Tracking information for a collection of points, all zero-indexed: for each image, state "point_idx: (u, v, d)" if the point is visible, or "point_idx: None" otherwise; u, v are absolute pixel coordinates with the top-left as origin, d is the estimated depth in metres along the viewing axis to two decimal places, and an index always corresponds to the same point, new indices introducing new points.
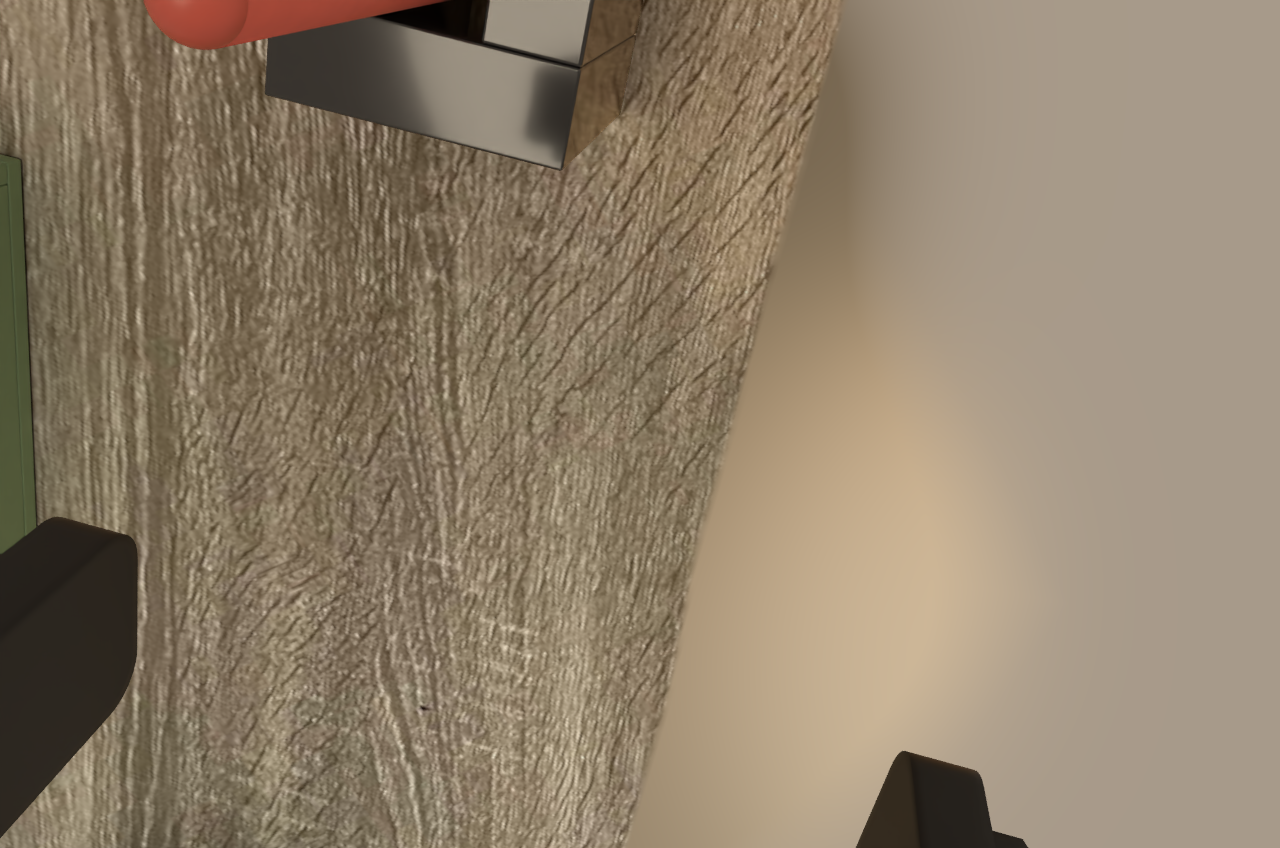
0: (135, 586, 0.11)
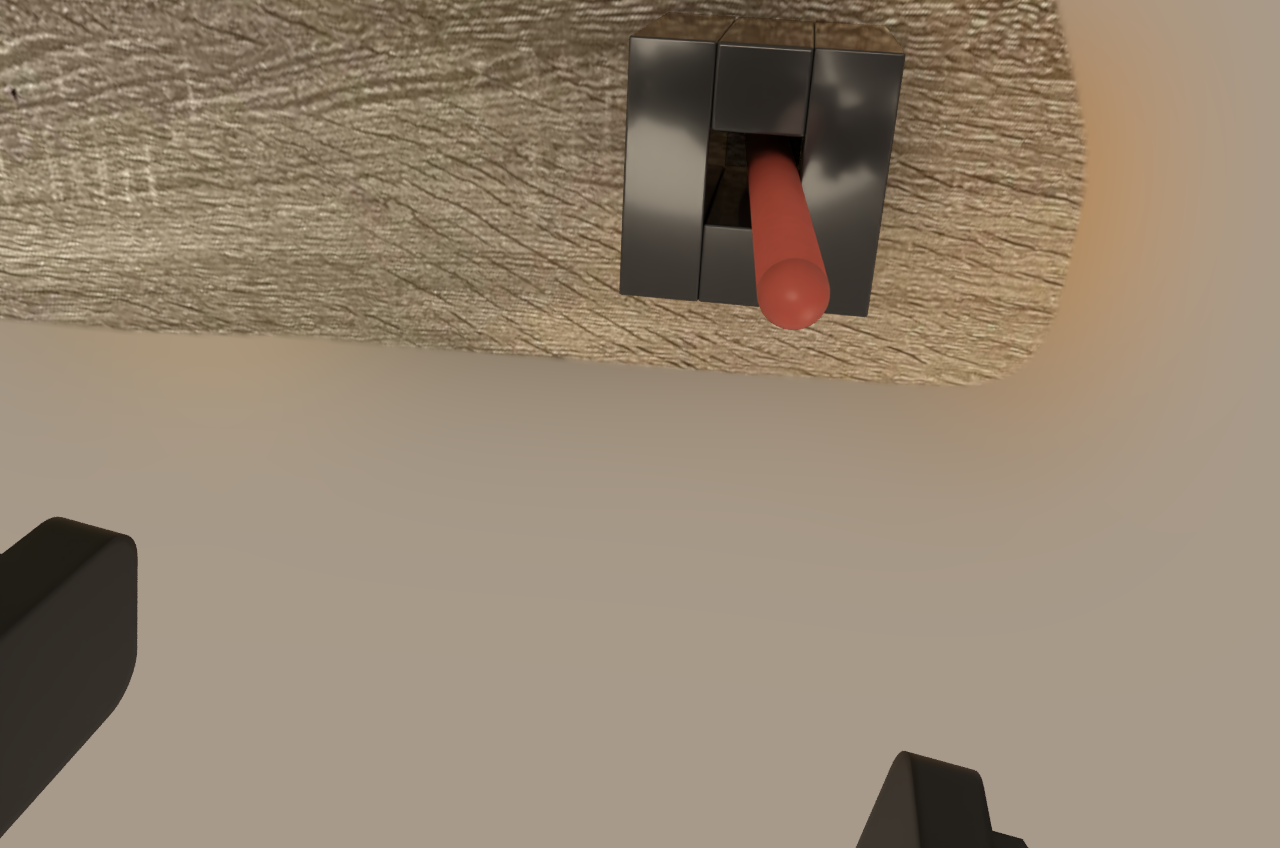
0: (135, 586, 0.11)
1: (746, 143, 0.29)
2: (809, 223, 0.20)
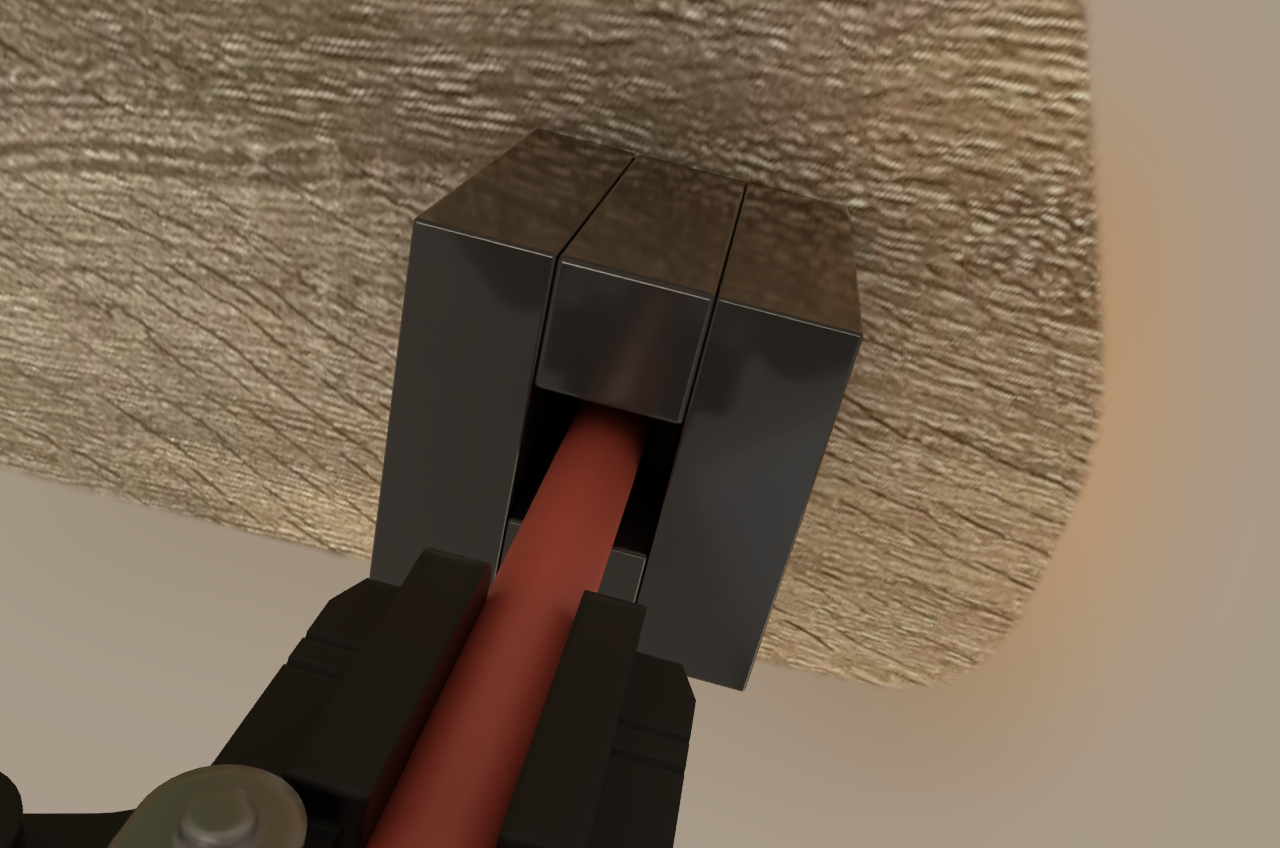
0: None
1: None
2: (540, 696, 0.10)
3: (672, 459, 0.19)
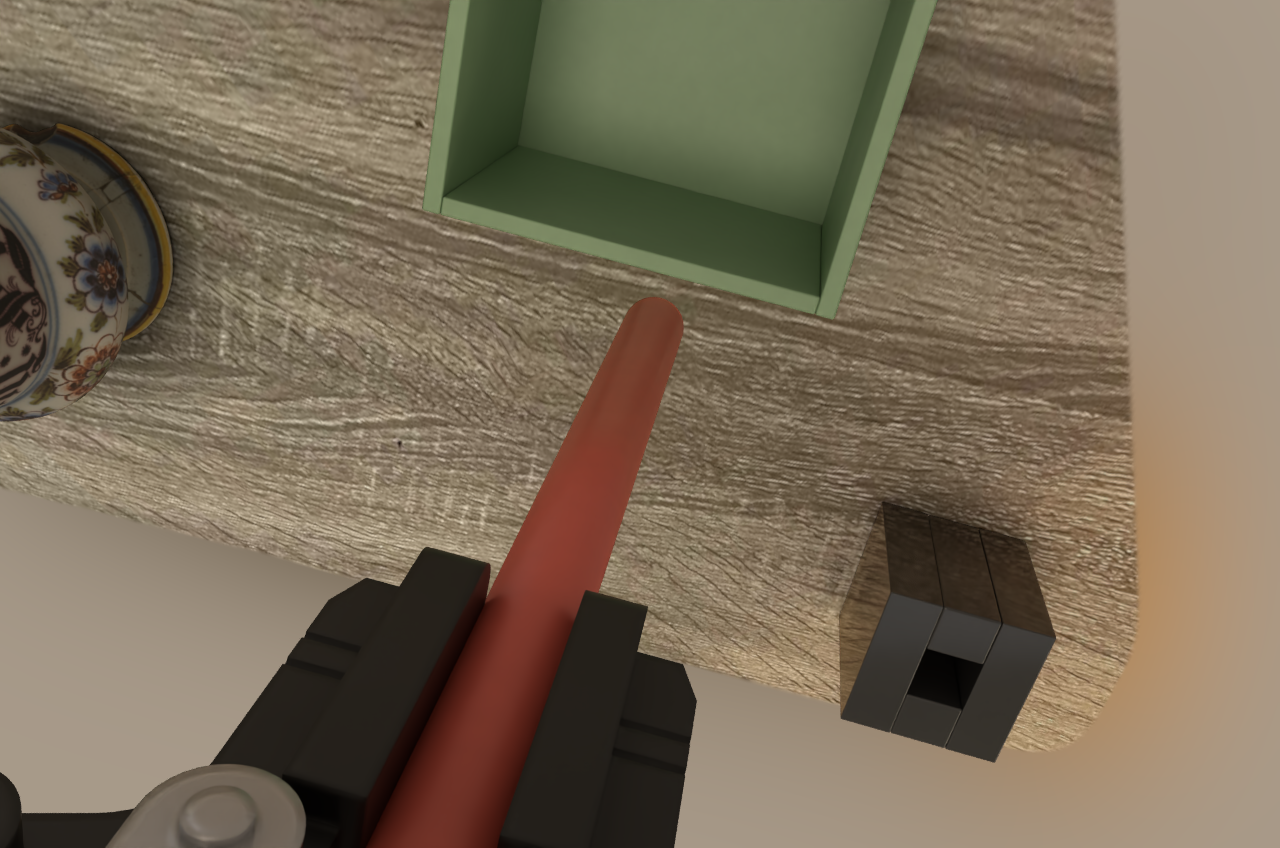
0: None
1: (607, 353, 0.19)
2: (540, 699, 0.10)
3: (952, 658, 0.44)
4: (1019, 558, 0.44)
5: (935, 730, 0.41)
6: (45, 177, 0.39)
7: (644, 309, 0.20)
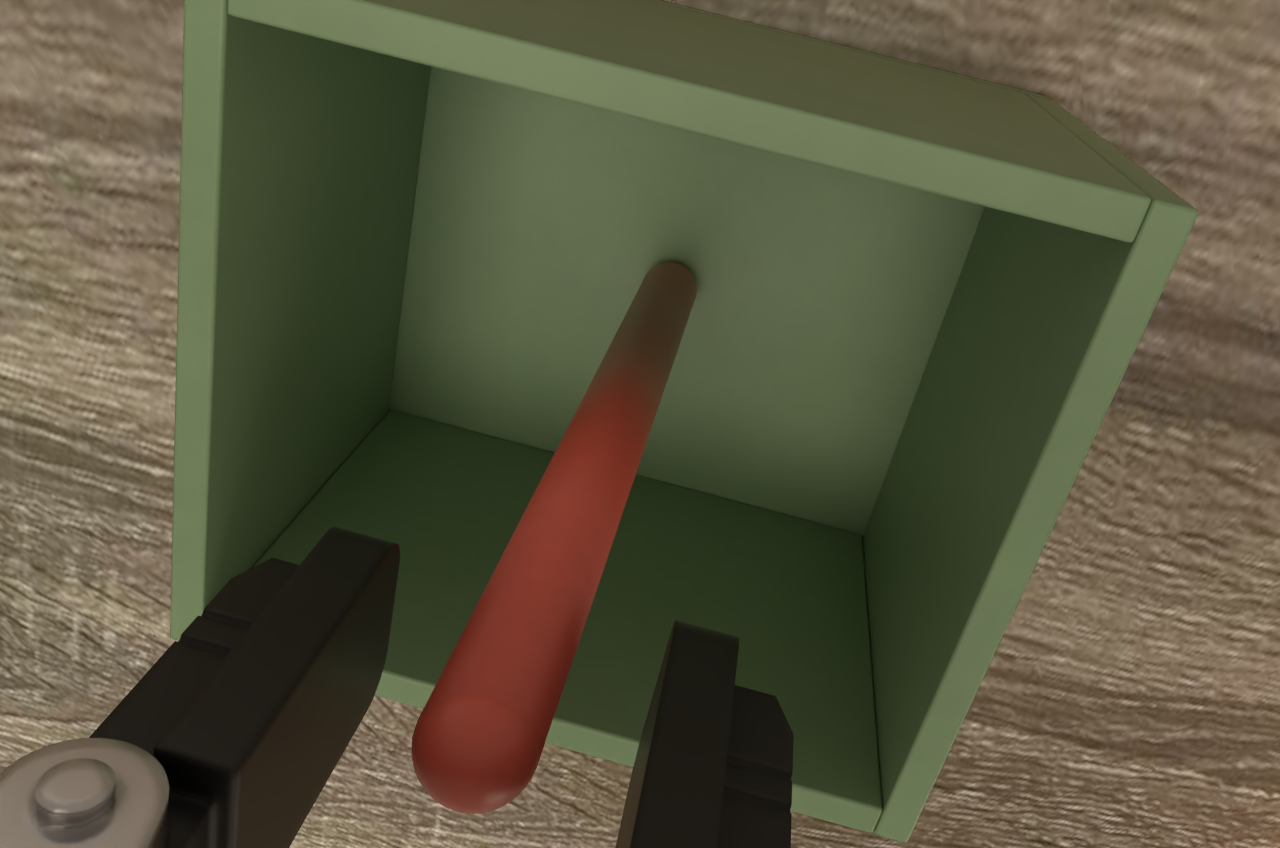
0: (394, 590, 0.12)
1: None
2: (588, 555, 0.13)
3: None
4: None
5: None
6: None
7: (661, 271, 0.23)
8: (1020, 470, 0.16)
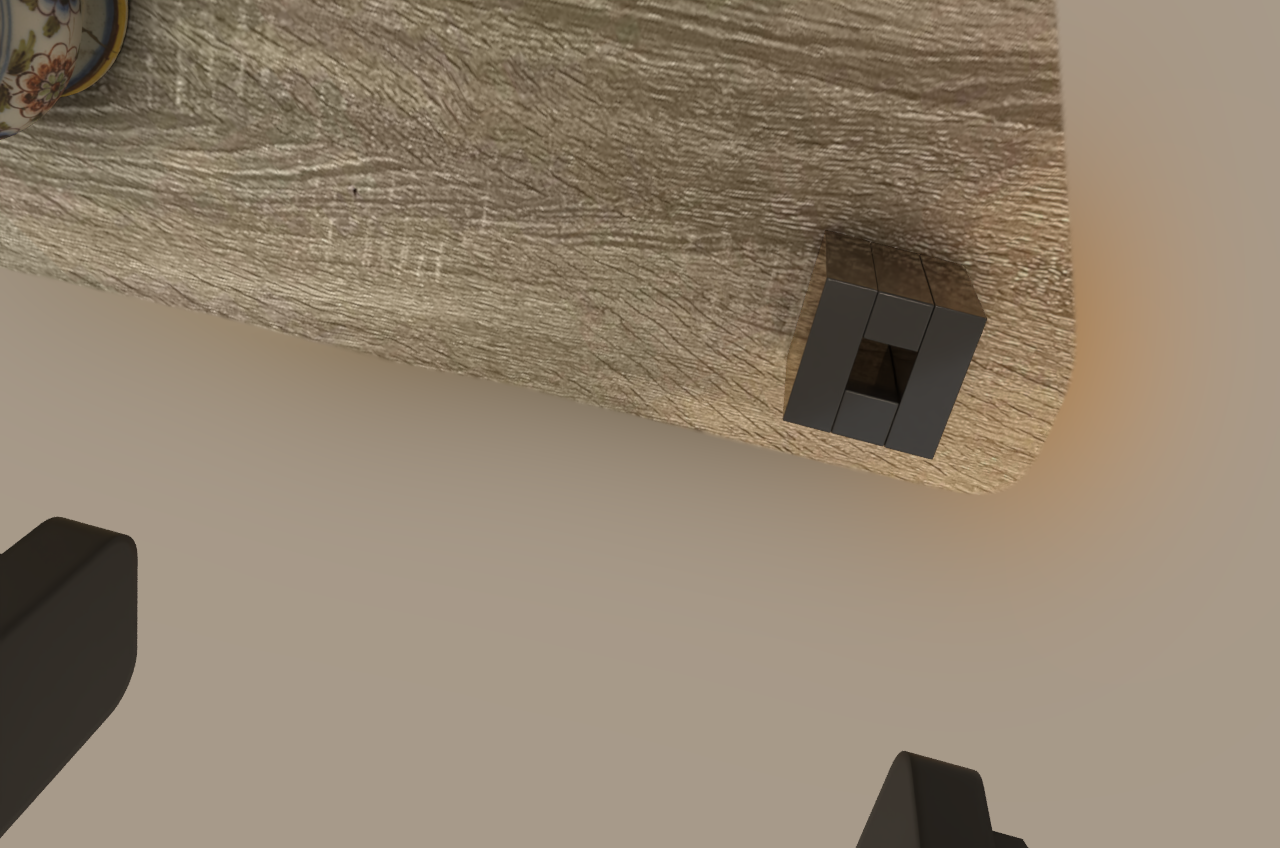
0: (135, 586, 0.11)
1: None
2: None
3: (893, 372, 0.45)
4: (957, 273, 0.45)
5: (874, 427, 0.43)
6: None
7: None
8: None
